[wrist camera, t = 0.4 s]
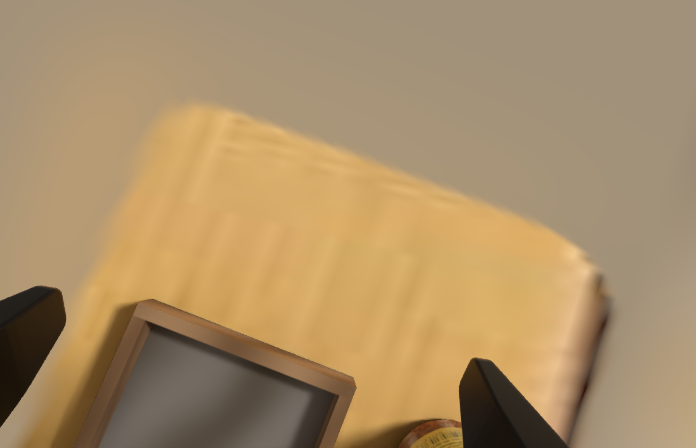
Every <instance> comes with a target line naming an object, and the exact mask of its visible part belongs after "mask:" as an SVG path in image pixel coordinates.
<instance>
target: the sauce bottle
mask: <svg viewBox="0 0 696 448" xmlns="http://www.w3.org/2000/svg"><path fill="white" fill-rule="evenodd" d="M398 448H463V438H462V425H461V422H457V421H454V420H447V419H443V420H433V421H428V422H425V423H422V424H420V425H419V426H417V427H416V428H414V429H412V430H411V431H410V432H409V434H408V435H406V436H405V438H403V439H402V442H401V443H400V445H399V446H398Z"/></svg>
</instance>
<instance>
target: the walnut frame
mask: <svg viewBox="0 0 696 448" xmlns="http://www.w3.org/2000/svg"><path fill="white" fill-rule="evenodd" d="M355 390H356V385H355V382H354V378H353V377H351V376H348V375H346V374H343V373H341V372H338V371H335V370H333V369H330V368H328V367H325V366H323V365H320V364H318V363H315V362H312V361H310V360H307V359H305V358H302V357H300V356H297V355H295V354H292V353H290V352H287V351H284V350H282V349H279V348H277V347H274V346H272V345H269V344H267V343H264V342H261V341H259V340H256V339H254V338H251V337H249V336H246V335H244V334H241V333H239V332H236V331H233V330H231V329H228V328H226V327H223V326H221V325H218V324H216V323H213V322H210V321H208V320H205V319H203V318H200V317H198V316H195V315H193V314H190V313H188V312H185V311H182V310H180V309H177V308H175V307H172V306H170V305H167V304H165V303H162V302H159V301H157V300H154V299H149V300H146V301H142V302H138V304H137V307H136V309H135V311H134V313H133V315H132V318H131V320H130V322H129V324H128V327H127V329H126V331H125V333H124V336H123V338H122V340H121V342H120V345H119V347H118V349H117V351H116V354H115V356H114V358H113V360H112V362H111V365H110V367H109V369H108V371H107V374H106V376H105V378H104V380H103V383H102V385H101V387H100V389H99V392H98V394H97V396H96V398H95V401H94V403H93V405H92V407H91V409H90V412H89V414H88V416H87V418H86V421H85V423H84V425H83V427H82V430H81V432H80V434H79V436H78V439H77V441H76V443H75V445H74V448H333V447H334V444H335V442H336V439H337V437H338V434H339V432H340V429H341V426H342V424H343V421H344V419H345V416H346V413H347V411H348V408H349V406H350V403H351V401H352V398H353V395H354V393H355Z"/></svg>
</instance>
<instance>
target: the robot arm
mask: <svg viewBox="0 0 696 448" xmlns="http://www.w3.org/2000/svg"><path fill="white" fill-rule="evenodd" d="M65 323H66V313H65V307H64V302H63V296H62V292H61V291H60V290H59V289H57V288H53V287H47V286H35V287H33V288H30V289H28V290H25V291H23V292H20V293H18V294H16V295H13V296H11V297H8V298H6V299H4V300H1V301H0V427H1V426H2V425H3V423H4V422H5V420H6V419H7V418H8V416H9V415H10V414H11V412H12V411H13V410H14V408H15V407H16V406H17V404H18V403H19V401H20V400H21V398H22V397H23V396H24V394H25V393H26V391H27V389H28V388H29V386H30V385H31V383H32V381H33V380H34V378H35V376H36V374H37V373H38V371H39V369H40V368H41V366H42V364H43V363H44V361H45V359H46V358H47V356H48V354H49V353H50V350H51V349H52V347H53V346H54V344H55V342H56V341H57V339H58V337H59V336H60V334H61V332H62V331H63V329H64V326H65ZM459 399H460V412H461V425H462V438H463V448H569V447H568V445H567V444H566V443H565V442H564V441H563V440H562V439H561V438H560V437H559V435H558V434H557V433H556V432H555V431H554V430H553V429H552V428H551V426H550V425H549V424H548V423H547V422H546V421H545V420H544V419H543V418H542V416H541V415H540V414H539V413H538V412H537V411H536V410H535V409H534V407H533V406H532V405H531V404H530V403H529V402H528V401H527V400H526V399H525V397H524V396H523V395H522V394H521V393H520V392H519V391H518V390H517V389H516V387H515V386H514V385H513V384H512V383H511V382H510V381H509V380H508V378H507V377H506V376H505V375H504V374H503V373H502V372H501V371H500V370H499V368H498V367H497V366H496V365H495V364H494V363H493V362H492V361H491V360H488V359H482V358H472V359H471V360H470V362H469V364H468V366H467V368H466V370H465V373H464V375H463V377H462V379H461V381H460V385H459Z"/></svg>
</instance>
